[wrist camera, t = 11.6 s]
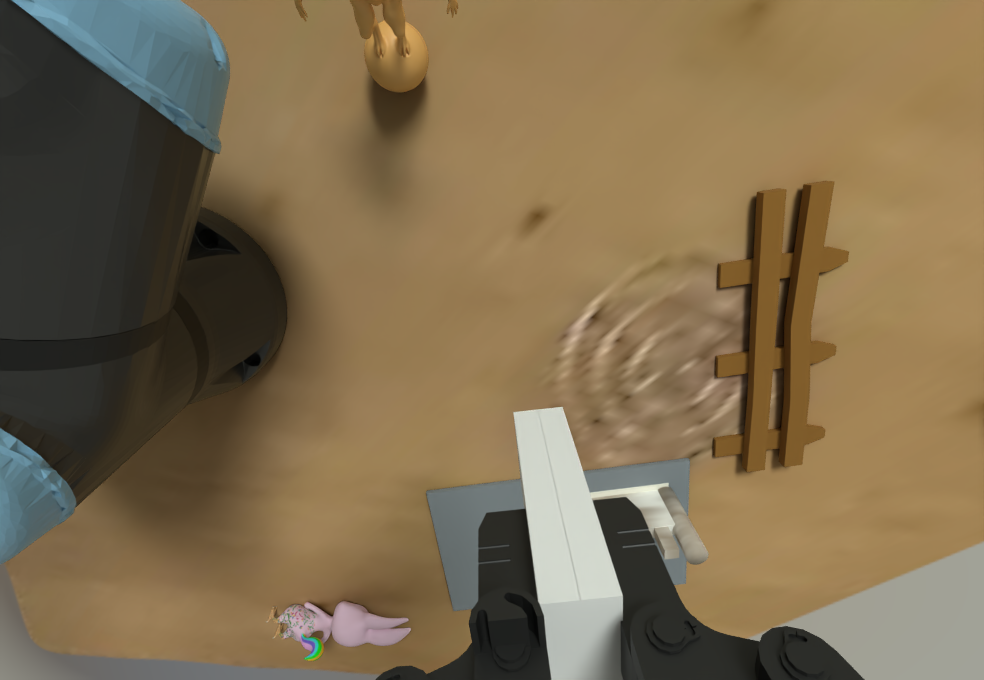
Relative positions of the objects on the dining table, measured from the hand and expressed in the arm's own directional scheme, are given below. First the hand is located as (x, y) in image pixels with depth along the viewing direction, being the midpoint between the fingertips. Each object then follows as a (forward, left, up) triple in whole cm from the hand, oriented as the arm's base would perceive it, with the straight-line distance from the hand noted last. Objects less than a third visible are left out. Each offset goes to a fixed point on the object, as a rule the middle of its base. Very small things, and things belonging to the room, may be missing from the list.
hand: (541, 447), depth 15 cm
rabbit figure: (-22, -35, -25) cm, 48 cm away
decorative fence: (+22, -10, -25) cm, 35 cm away
